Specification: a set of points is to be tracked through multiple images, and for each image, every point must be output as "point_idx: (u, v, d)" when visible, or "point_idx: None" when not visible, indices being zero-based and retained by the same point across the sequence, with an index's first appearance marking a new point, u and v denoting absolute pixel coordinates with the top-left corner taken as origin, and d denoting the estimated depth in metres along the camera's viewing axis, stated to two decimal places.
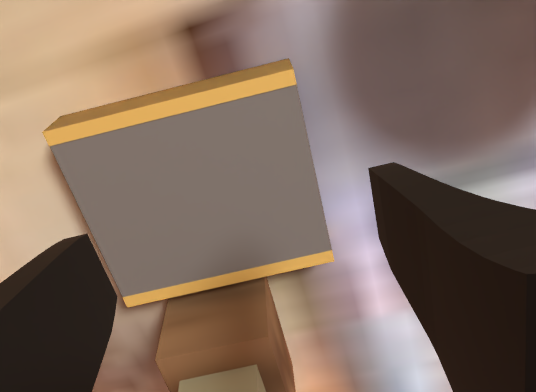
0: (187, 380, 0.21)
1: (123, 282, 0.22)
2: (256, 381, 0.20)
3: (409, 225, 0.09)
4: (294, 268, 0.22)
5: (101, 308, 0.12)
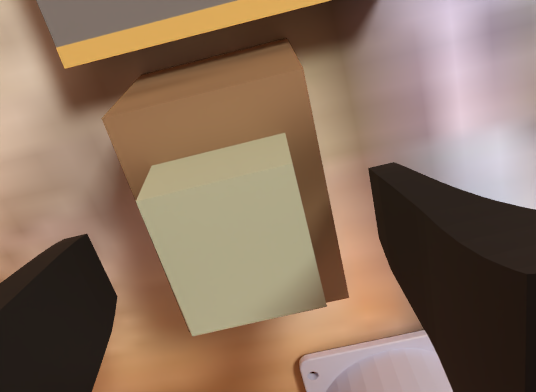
0: (165, 162, 0.12)
1: (55, 15, 0.13)
2: (287, 146, 0.11)
3: (409, 225, 0.09)
4: None
5: (101, 308, 0.12)
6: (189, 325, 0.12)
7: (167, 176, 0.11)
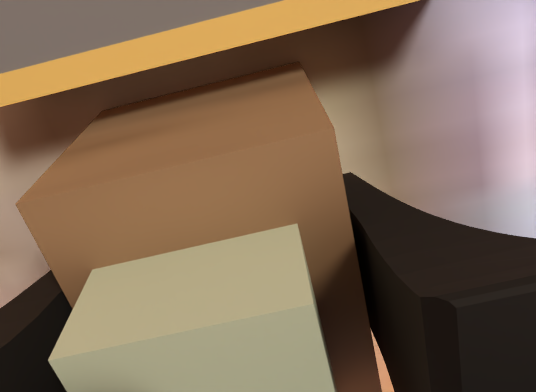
0: (113, 266, 0.08)
1: None
2: (301, 256, 0.07)
3: (355, 237, 0.09)
4: (383, 4, 0.09)
5: None
6: None
7: (109, 301, 0.07)
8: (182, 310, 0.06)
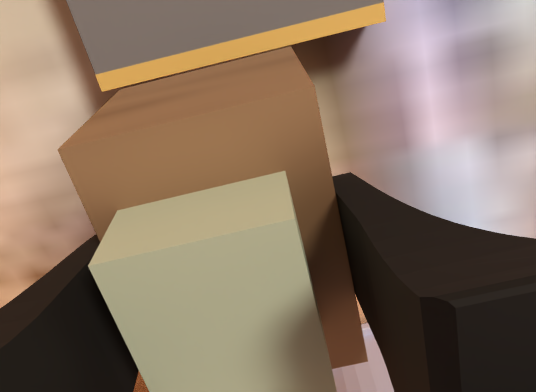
0: (135, 207, 0.10)
1: (96, 49, 0.16)
2: (287, 191, 0.09)
3: (355, 237, 0.09)
4: (331, 32, 0.16)
5: None
6: None
7: (133, 229, 0.09)
8: (192, 229, 0.08)
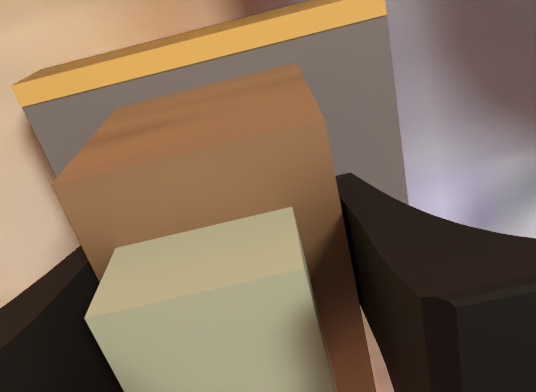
0: (134, 245, 0.09)
1: None
2: (295, 232, 0.08)
3: (355, 237, 0.09)
4: None
5: None
6: None
7: (133, 272, 0.08)
8: (195, 277, 0.08)
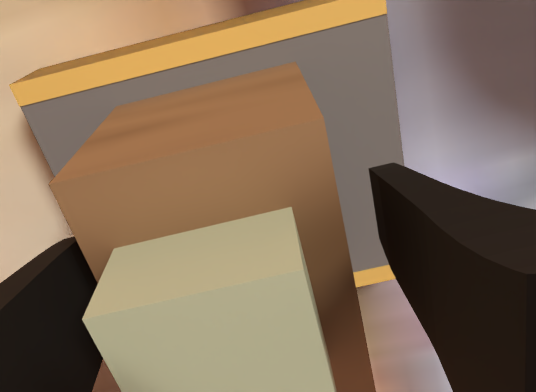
0: (132, 246, 0.09)
1: None
2: (294, 233, 0.08)
3: (409, 225, 0.09)
4: (361, 283, 0.16)
5: None
6: None
7: (131, 273, 0.08)
8: (193, 278, 0.08)
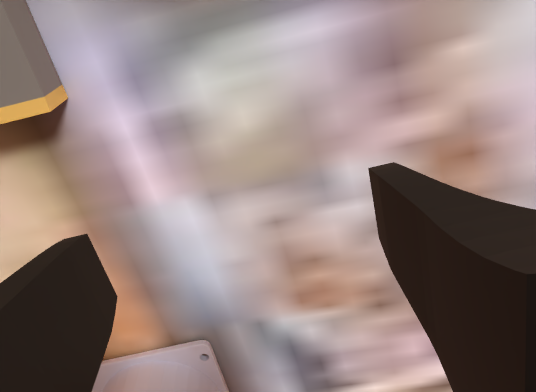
0: None
1: None
2: None
3: (409, 225, 0.09)
4: (5, 120, 0.19)
5: (101, 308, 0.12)
6: None
7: None
8: None
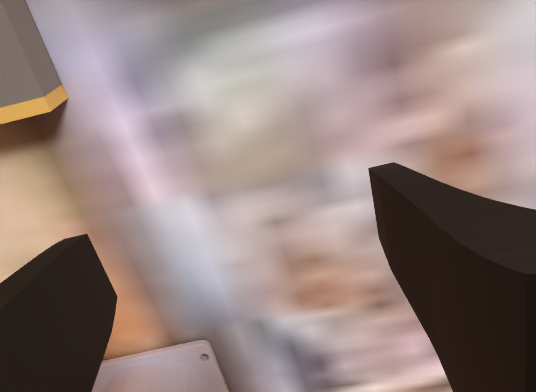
0: None
1: None
2: None
3: (409, 225, 0.09)
4: (5, 120, 0.19)
5: (101, 308, 0.12)
6: None
7: None
8: None
